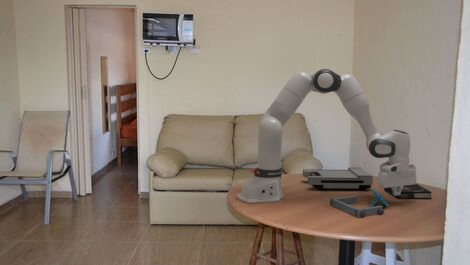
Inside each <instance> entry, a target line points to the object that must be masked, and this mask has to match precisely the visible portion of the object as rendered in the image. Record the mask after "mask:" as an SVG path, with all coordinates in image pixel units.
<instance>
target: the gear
mask: <svg viewBox="0 0 470 265" xmlns="http://www.w3.org/2000/svg"><path fill="white" fill-rule="evenodd" d="M371 193H372V194H373V195H374V197H373V199H372V200H371V201H370V203H371V204H370V205H371V207H374V206H375V205H376V204H377V203H379V202H381V203H382V204H383V205H385V206H386V207H389V206H390V205H389V204H388V202H386V201H385V200H384V198H383V195H380V194H379V193H377V191H375V190H374V189H372V188H371Z"/></svg>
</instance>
